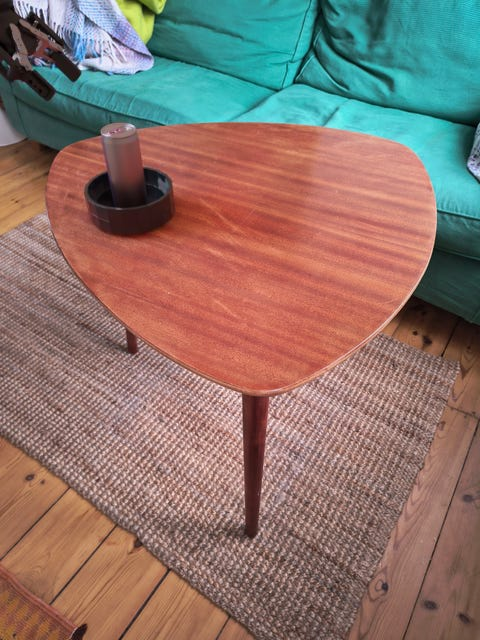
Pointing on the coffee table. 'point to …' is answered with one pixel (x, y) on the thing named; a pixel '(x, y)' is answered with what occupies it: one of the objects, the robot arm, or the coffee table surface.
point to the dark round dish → (134, 217)
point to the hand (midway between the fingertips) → (66, 86)
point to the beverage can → (124, 165)
